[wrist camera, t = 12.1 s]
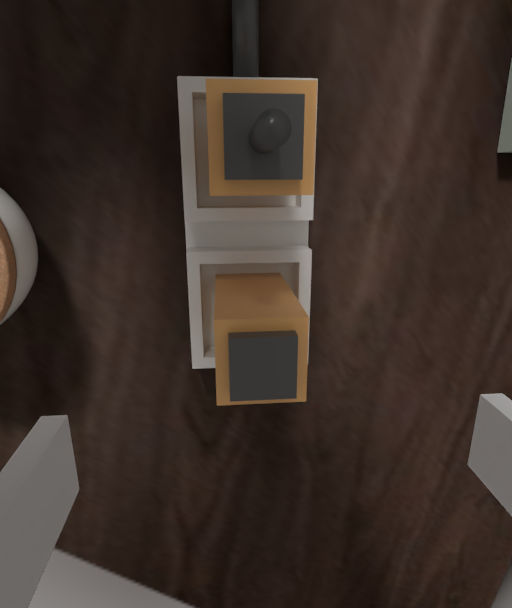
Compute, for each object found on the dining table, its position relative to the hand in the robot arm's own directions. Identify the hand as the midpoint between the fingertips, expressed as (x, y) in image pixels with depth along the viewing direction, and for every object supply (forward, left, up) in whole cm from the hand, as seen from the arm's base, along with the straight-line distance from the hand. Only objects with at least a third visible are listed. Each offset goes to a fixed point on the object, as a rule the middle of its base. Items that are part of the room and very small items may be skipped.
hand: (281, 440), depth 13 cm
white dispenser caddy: (0, +8, -18) cm, 20 cm away
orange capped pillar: (0, 0, -17) cm, 17 cm away
